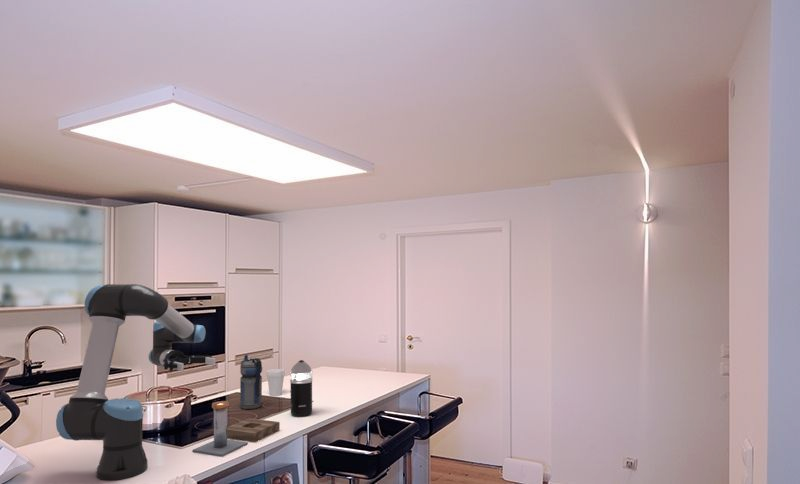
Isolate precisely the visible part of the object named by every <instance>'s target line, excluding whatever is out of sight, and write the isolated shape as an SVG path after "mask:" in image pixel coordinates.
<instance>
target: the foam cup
mask: <svg viewBox="0 0 800 484" xmlns="http://www.w3.org/2000/svg"><path fill="white" fill-rule="evenodd" d="M266 377H267V383H268V392H269V396H270V397H279V396H282V393H283V387H284V378H285V369H283V368H272V369H268V370H266Z"/></svg>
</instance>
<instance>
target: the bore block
mask: <svg viewBox="0 0 800 484" xmlns="http://www.w3.org/2000/svg"><path fill="white" fill-rule="evenodd" d="M280 424H281V423H280V421H276V420H275V421H274V420H266V419H258V418H257V419H256V418H251V417H249V418H246V419H243V420H241V421H239V422H236V423H234V424H232V425H229V426H227V439H228V440H235V441H242V442H248V443H249V442H250V443H256V442H258V440H259V441H261V440H263V439H264V438H268V437H269V436H271V435H273V434H275V433H278V432H279V431H280V426H281V425H280ZM262 438H263V439H262ZM260 439H261V440H260Z"/></svg>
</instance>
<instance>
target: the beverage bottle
mask: <svg viewBox="0 0 800 484" xmlns="http://www.w3.org/2000/svg"><path fill="white" fill-rule="evenodd" d="M239 372H240V374H241V377H240V379H239V380H240V382H239V383H240V388H239V389H240V392H239V393H240V395H239V396H240V397H239V402H240V405H239V406H240V407H241V409H244V410H255V409H258V408H260V407H261V406H262V403H263V402H262V401H263V400H262V397H263V395H262V393H263V391H262V390H263V389H262V388H263V387H262V386H263V385H262V383H263V381H262V380H263V377H262V375H261V373H262V372H263V366H262V360H261V359H260V358H258V357H254V358H250V359H248V354H245V355H244V356H243V360H241V361H240V371H239Z"/></svg>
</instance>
